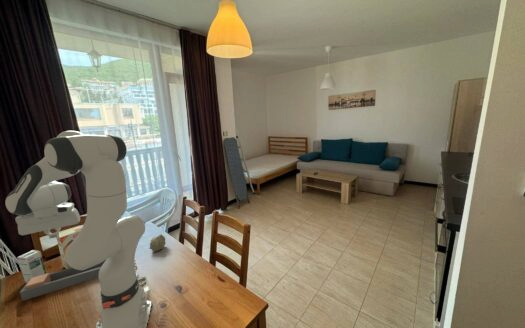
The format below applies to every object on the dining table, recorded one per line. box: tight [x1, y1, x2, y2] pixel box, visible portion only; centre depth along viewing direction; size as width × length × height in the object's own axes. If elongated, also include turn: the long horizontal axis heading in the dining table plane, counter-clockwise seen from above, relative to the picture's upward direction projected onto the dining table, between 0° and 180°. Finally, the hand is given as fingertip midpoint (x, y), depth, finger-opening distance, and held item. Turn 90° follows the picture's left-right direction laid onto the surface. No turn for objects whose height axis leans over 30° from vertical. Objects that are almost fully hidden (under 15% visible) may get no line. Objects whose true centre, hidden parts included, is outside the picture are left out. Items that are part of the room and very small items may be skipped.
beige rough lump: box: [148, 234, 167, 252], centre depth 124 cm, size 9×8×10 cm
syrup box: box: [17, 249, 48, 284], centre depth 102 cm, size 6×6×14 cm
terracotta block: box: [24, 272, 51, 289], centre depth 96 cm, size 6×6×4 cm
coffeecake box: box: [55, 224, 84, 269], centre depth 115 cm, size 15×7×20 cm, turn 150°
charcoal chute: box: [19, 260, 106, 302], centre depth 102 cm, size 9×32×4 cm, turn 120°
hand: (54, 237), depth 96 cm, fingers closed
